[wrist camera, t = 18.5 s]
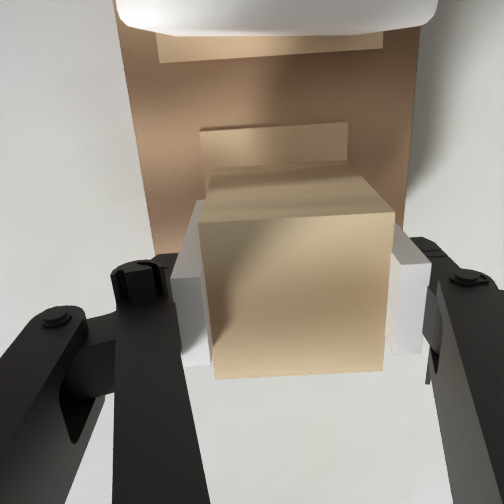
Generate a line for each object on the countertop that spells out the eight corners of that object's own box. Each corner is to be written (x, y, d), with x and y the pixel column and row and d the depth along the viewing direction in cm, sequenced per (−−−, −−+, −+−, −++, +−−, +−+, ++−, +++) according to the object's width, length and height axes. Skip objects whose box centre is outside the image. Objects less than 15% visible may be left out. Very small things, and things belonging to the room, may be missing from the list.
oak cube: (213, 167, 17) (197, 223, 11) (346, 160, 17) (395, 212, 11) (224, 284, 19) (214, 379, 13) (342, 278, 19) (382, 370, 13)
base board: (101, -228, 17) (60, -305, 14) (407, -251, 17) (453, -336, 13) (170, 240, 26) (157, 274, 22) (378, 228, 25) (401, 259, 22)
